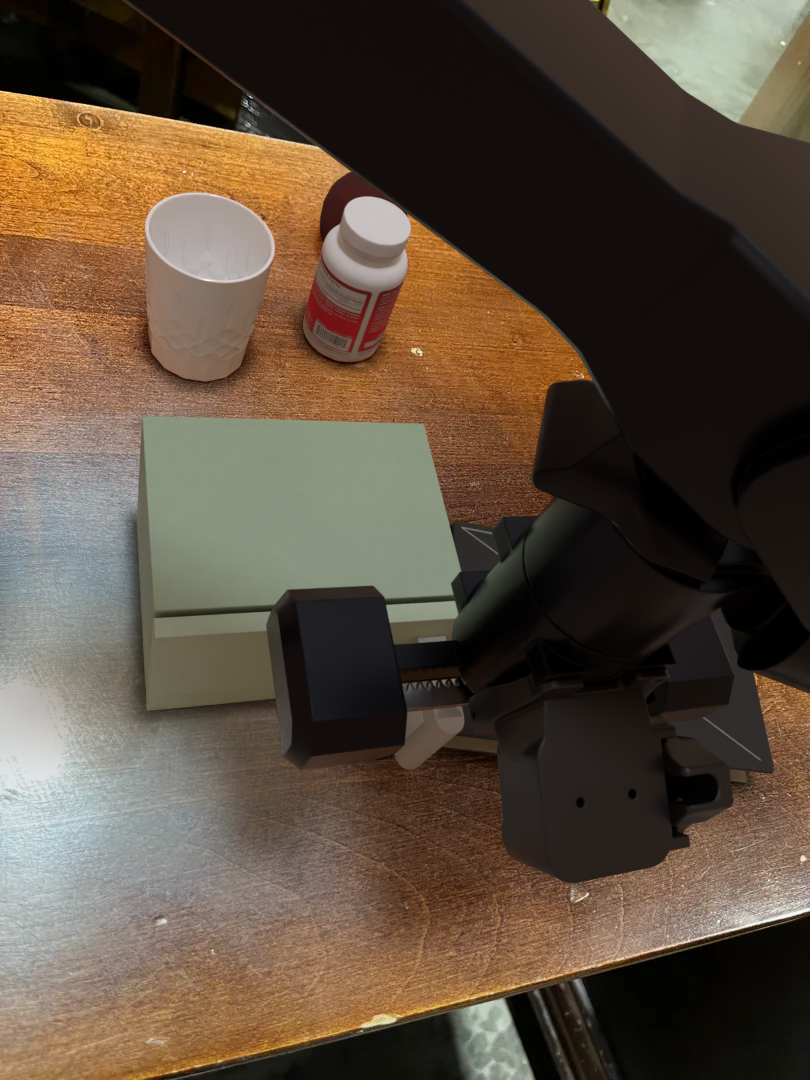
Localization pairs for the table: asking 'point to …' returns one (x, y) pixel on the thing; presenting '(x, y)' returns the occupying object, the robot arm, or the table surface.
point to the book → (722, 732)
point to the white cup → (204, 282)
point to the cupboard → (285, 514)
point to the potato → (343, 200)
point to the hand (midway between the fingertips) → (440, 721)
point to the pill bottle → (357, 280)
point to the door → (246, 674)
